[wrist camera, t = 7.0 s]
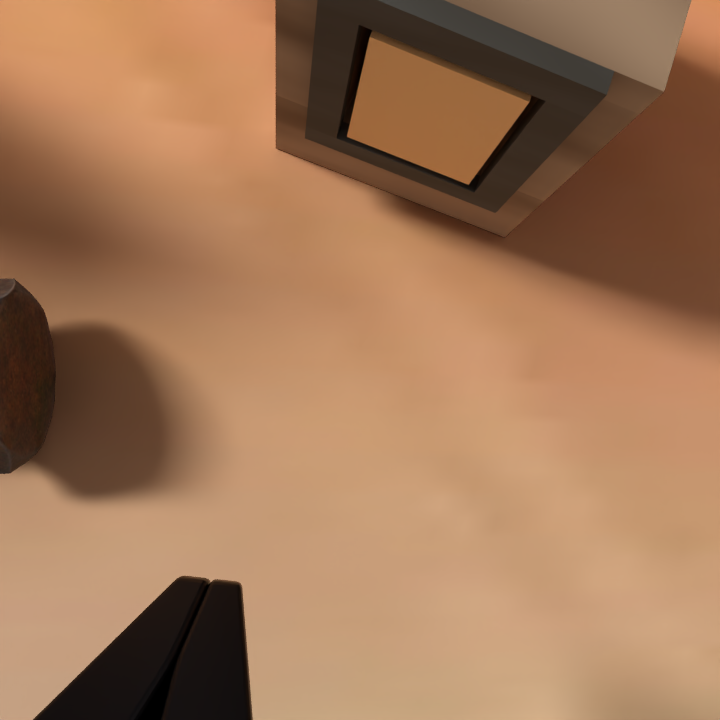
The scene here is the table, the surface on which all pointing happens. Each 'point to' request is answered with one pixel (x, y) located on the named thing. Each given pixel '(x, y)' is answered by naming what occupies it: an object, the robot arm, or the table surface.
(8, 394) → the bolt
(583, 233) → the table surface
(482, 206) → the housing
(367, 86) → the peg
